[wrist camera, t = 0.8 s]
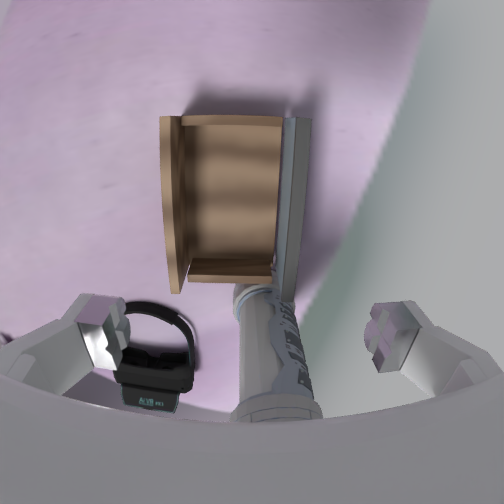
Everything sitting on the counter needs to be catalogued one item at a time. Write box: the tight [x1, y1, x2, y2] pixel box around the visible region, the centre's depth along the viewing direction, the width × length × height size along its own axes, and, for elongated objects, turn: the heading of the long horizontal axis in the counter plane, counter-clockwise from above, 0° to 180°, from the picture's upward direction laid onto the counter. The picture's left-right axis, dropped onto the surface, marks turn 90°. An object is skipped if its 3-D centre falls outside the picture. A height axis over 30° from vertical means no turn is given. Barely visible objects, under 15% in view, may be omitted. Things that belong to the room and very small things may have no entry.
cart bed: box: [160, 115, 283, 294], centre depth 37 cm, size 22×14×11 cm, turn 178°
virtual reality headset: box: [113, 302, 195, 413], centre depth 51 cm, size 19×22×10 cm
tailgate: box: [275, 117, 312, 302], centre depth 35 cm, size 22×2×9 cm, turn 178°
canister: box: [230, 270, 323, 422], centre depth 37 cm, size 10×10×30 cm
